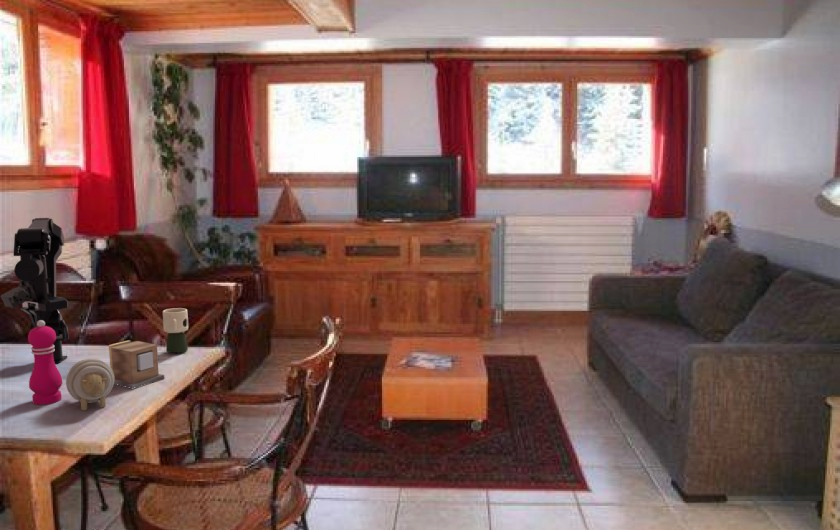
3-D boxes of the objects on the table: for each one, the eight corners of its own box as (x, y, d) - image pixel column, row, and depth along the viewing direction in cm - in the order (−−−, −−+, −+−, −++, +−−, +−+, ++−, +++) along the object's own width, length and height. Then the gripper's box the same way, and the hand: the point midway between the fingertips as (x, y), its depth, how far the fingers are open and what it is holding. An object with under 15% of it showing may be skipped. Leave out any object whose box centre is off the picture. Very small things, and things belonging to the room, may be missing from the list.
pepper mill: (50, 406, 173) (43, 324, 170) (23, 404, 175) (16, 322, 172) (70, 396, 180) (64, 317, 177) (44, 394, 182) (38, 316, 179)
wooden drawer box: (88, 378, 195) (86, 344, 194) (121, 368, 204) (118, 336, 202) (132, 388, 186) (130, 353, 185) (164, 378, 195) (162, 344, 193)
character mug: (188, 355, 217) (186, 313, 215) (163, 357, 215) (161, 314, 213) (190, 346, 227) (188, 306, 225) (166, 348, 226) (163, 307, 224)
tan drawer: (110, 370, 193) (108, 345, 192) (129, 365, 198) (128, 340, 197) (137, 377, 188) (136, 350, 187) (156, 371, 193) (155, 345, 192)
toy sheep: (74, 418, 165) (71, 370, 164) (61, 398, 179) (57, 354, 177) (123, 408, 171) (120, 363, 170) (107, 390, 185) (104, 347, 183)
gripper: (-16, 276, 191) (-10, 334, 194) (25, 282, 182) (30, 343, 184) (25, 271, 201) (30, 326, 203) (67, 276, 191) (71, 334, 194)
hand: (39, 332), depth 196 cm, fingers closed
